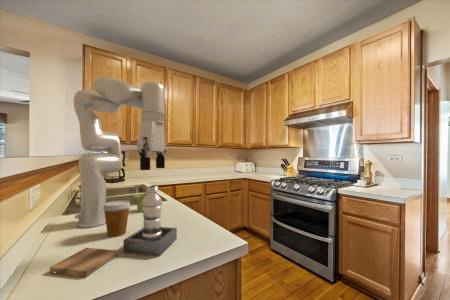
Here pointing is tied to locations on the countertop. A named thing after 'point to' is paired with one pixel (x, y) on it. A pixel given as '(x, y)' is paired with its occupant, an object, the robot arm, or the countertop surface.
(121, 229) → the disposable coffee cup
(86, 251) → the walnut coaster
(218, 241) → the countertop surface
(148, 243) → the tray
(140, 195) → the plant pot
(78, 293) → the countertop surface
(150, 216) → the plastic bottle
